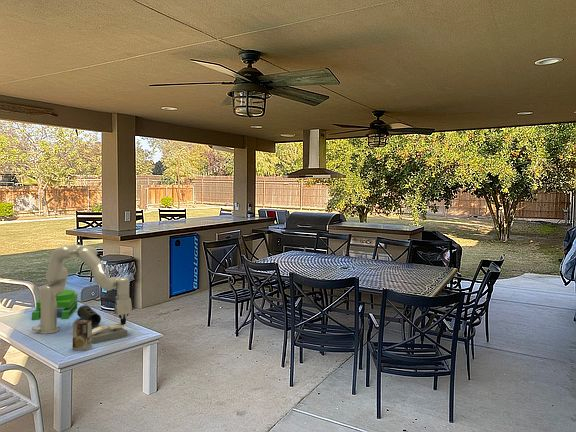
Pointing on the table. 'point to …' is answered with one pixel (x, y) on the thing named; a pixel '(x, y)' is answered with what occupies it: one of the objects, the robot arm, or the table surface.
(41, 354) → the table surface
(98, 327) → the block
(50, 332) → the robot arm
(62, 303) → the tank
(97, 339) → the switch block
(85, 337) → the coffee box
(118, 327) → the far rocker
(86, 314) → the muzzle brake
